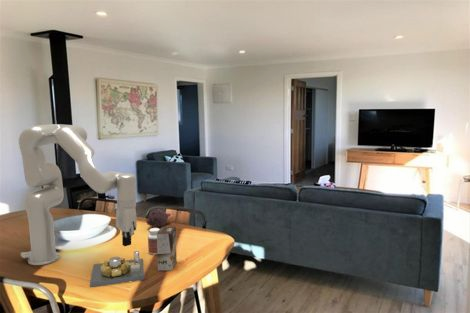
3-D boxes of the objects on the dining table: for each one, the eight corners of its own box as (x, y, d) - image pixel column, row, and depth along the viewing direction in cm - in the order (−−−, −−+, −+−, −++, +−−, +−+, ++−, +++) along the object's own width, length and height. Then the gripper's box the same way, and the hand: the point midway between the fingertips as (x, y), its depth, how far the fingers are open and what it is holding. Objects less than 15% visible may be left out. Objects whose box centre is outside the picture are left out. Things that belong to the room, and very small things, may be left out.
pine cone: (153, 232, 194) (152, 214, 192) (140, 229, 199) (139, 212, 197) (174, 223, 209) (174, 206, 207) (161, 220, 214) (161, 204, 212)
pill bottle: (162, 254, 166) (161, 231, 165) (148, 255, 165) (147, 232, 163) (161, 249, 172) (161, 226, 171) (148, 250, 171) (147, 227, 169)
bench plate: (90, 287, 137) (89, 269, 136) (93, 268, 152) (92, 252, 151) (144, 279, 142) (143, 263, 141) (142, 262, 157) (142, 247, 156)
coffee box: (172, 270, 150) (171, 233, 147) (157, 270, 150) (156, 233, 148) (177, 261, 159) (176, 226, 157) (162, 261, 159) (161, 226, 157)
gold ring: (101, 278, 138) (101, 263, 137) (100, 267, 148) (99, 252, 147) (142, 271, 144) (141, 256, 143) (138, 260, 154) (137, 247, 153)
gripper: (109, 200, 152) (110, 241, 155) (126, 209, 142) (127, 253, 145) (126, 197, 158) (126, 237, 160) (143, 205, 147) (143, 248, 150)
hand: (126, 244), depth 153 cm, fingers closed
